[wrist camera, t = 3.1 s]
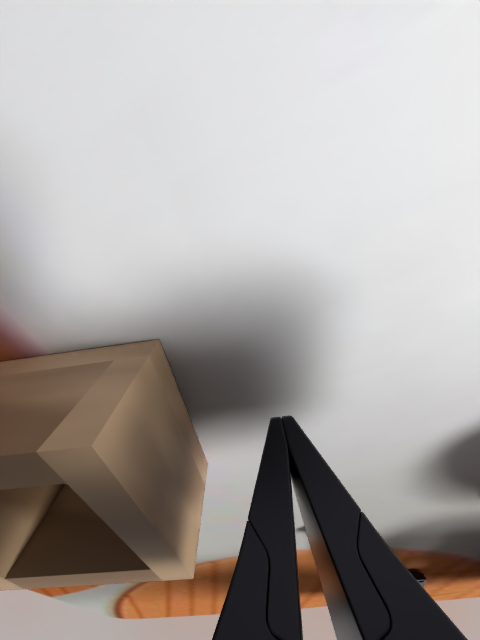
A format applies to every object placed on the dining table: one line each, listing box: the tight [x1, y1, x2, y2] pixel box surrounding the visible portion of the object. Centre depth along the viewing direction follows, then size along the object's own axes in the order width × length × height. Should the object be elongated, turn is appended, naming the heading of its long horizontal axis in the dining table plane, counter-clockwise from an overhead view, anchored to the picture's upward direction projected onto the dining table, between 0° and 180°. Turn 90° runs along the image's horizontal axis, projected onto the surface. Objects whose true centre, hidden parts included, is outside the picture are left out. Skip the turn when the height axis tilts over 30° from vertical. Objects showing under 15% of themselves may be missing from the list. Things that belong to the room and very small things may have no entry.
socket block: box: [0, 339, 208, 591], centre depth 8 cm, size 8×8×4 cm
